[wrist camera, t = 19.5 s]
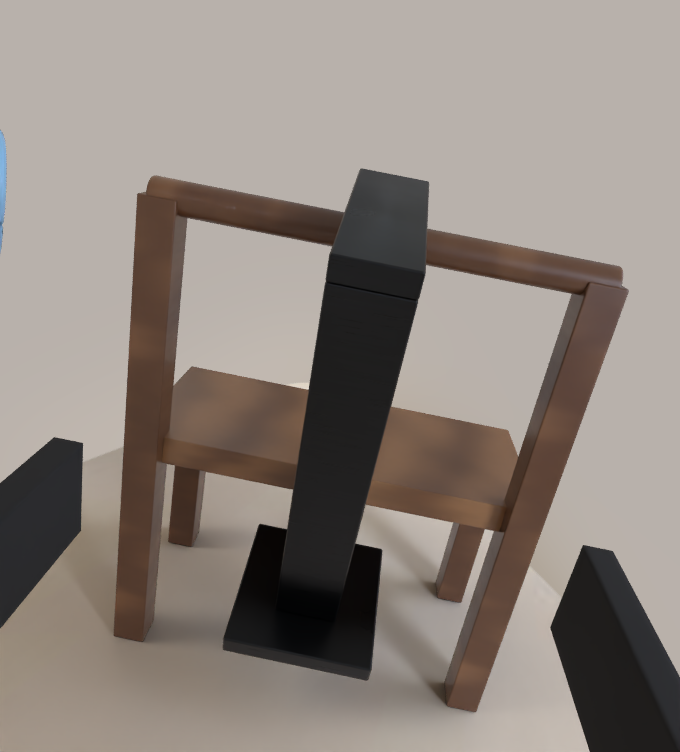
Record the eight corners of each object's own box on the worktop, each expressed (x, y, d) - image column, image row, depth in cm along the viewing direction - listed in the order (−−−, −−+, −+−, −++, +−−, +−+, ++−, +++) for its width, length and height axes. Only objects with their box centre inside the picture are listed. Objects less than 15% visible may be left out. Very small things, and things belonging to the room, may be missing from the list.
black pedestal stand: (367, 681, 28) (496, 318, 17) (222, 650, 29) (248, 268, 17) (384, 507, 37) (475, 190, 26) (273, 483, 38) (314, 158, 26)
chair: (113, 636, 32) (137, 174, 24) (176, 527, 41) (210, 166, 33) (476, 713, 32) (636, 272, 23) (458, 586, 41) (569, 236, 32)
